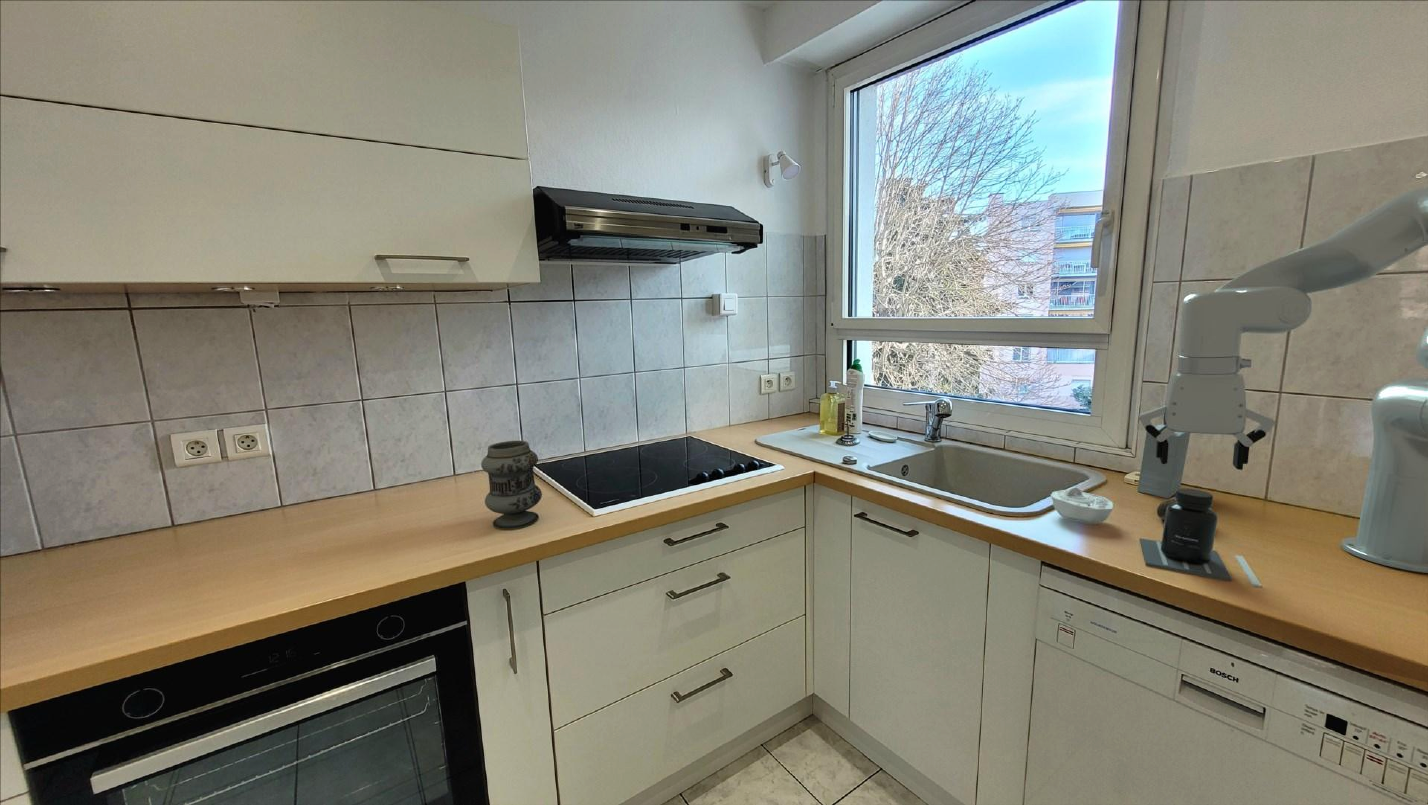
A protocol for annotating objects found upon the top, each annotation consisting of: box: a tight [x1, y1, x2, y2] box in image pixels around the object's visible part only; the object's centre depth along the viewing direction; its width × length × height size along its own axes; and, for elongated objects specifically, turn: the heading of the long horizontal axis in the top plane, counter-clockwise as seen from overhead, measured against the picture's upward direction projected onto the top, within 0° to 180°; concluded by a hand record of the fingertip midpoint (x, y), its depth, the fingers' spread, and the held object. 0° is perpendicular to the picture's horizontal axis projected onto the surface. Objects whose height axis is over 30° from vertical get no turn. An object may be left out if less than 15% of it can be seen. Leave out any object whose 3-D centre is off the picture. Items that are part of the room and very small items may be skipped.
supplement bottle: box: [1160, 487, 1219, 564], centre depth 95 cm, size 7×7×12 cm
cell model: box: [1050, 486, 1115, 526], centre depth 114 cm, size 10×12×7 cm
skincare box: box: [1137, 424, 1191, 499], centre depth 129 cm, size 8×7×16 cm
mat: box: [1139, 537, 1233, 582], centre depth 96 cm, size 11×12×1 cm
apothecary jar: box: [480, 440, 543, 531], centre depth 120 cm, size 12×12×18 cm
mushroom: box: [1156, 496, 1176, 521], centre depth 111 cm, size 8×8×6 cm
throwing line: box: [1234, 554, 1262, 588], centre depth 91 cm, size 1×12×1 cm, turn 146°
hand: (1199, 464), depth 93 cm, fingers open, 9 cm apart
